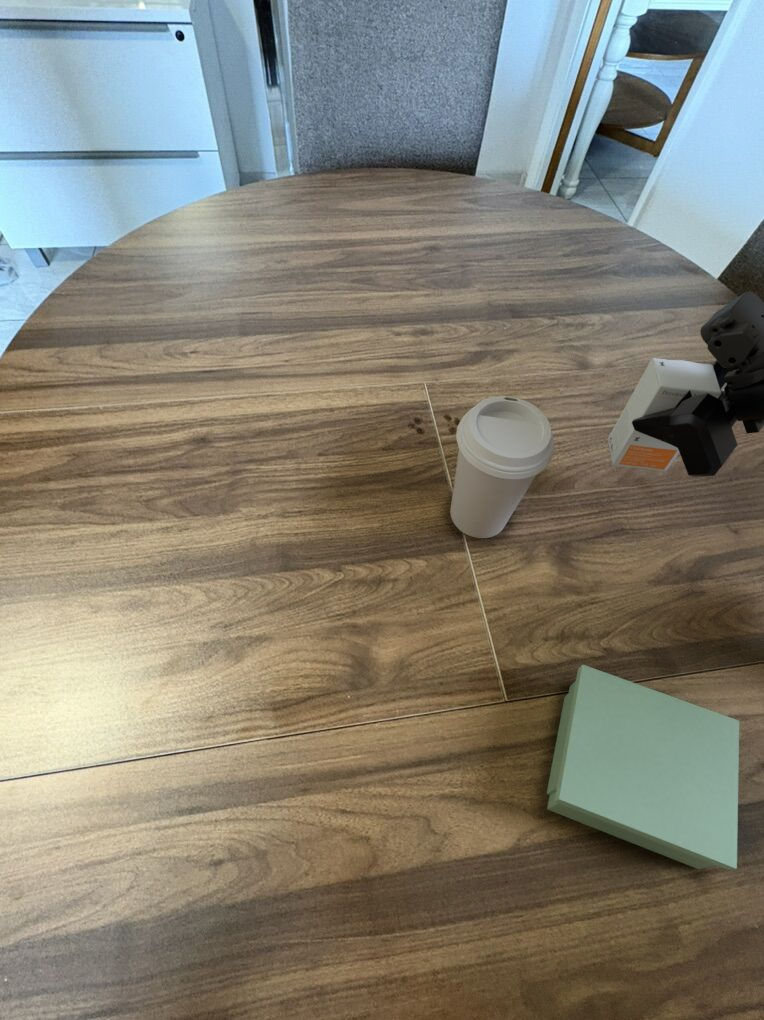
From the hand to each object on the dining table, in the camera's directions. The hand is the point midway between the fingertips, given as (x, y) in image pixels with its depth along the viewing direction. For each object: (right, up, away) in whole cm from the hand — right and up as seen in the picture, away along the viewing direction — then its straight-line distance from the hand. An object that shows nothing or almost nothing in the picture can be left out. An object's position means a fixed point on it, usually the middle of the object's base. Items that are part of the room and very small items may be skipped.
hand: (649, 407), depth 63 cm
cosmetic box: (+1, -5, +5) cm, 7 cm away
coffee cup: (-16, -11, +8) cm, 21 cm away
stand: (-5, -34, -7) cm, 35 cm away
